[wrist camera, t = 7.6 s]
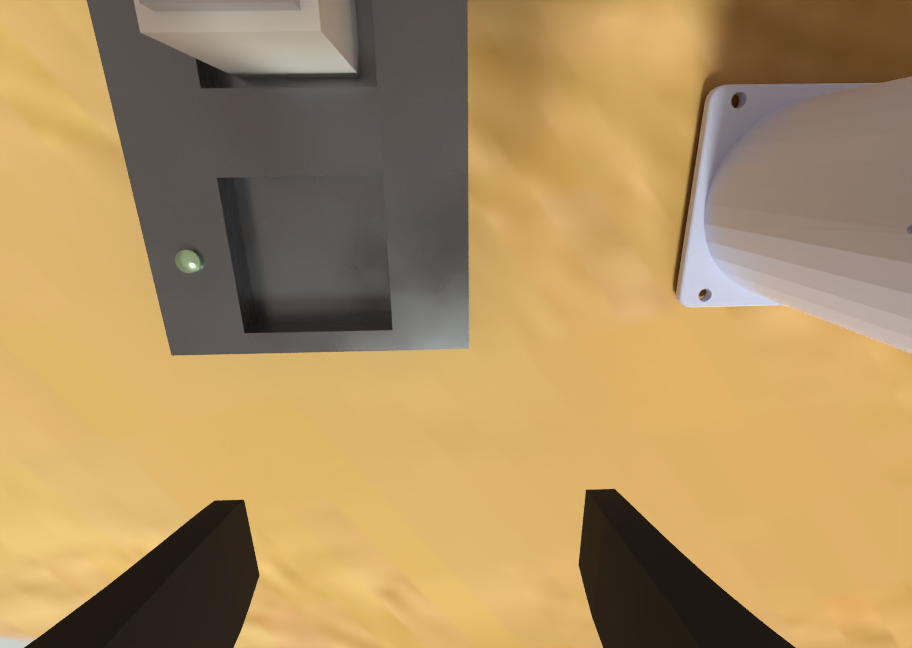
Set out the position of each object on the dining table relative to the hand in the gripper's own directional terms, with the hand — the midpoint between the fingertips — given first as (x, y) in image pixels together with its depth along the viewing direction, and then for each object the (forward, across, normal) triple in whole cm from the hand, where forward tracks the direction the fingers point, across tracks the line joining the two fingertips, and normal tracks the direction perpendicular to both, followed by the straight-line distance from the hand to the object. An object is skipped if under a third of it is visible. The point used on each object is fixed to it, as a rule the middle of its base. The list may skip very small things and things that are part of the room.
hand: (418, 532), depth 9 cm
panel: (+10, +4, -8) cm, 14 cm away
